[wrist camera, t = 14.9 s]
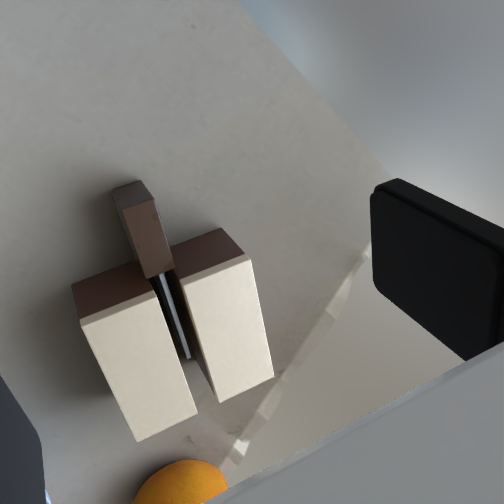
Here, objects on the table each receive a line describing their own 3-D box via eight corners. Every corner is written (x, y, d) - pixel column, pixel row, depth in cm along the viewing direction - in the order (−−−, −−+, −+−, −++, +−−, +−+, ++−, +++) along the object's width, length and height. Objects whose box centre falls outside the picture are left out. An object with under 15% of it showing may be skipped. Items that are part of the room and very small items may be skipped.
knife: (110, 189, 36) (120, 209, 33) (141, 179, 37) (154, 198, 33) (163, 337, 44) (176, 364, 41) (188, 326, 45) (202, 352, 42)
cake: (70, 284, 38) (80, 327, 33) (221, 227, 41) (250, 258, 37) (122, 394, 45) (136, 443, 40) (247, 338, 48) (274, 376, 44)
